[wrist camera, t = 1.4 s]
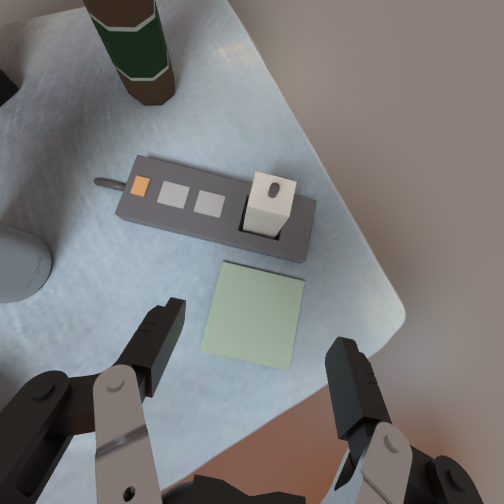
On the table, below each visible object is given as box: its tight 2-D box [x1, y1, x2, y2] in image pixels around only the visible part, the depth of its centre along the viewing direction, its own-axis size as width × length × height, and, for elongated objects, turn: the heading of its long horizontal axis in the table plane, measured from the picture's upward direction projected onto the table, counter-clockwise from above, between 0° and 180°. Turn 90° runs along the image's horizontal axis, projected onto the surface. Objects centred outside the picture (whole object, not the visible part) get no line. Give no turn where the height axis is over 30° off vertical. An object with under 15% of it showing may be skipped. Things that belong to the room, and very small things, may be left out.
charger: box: [242, 171, 296, 239], centre depth 29 cm, size 5×4×12 cm
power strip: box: [93, 155, 316, 263], centre depth 33 cm, size 32×9×3 cm, turn 77°
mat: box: [199, 262, 305, 371], centre depth 31 cm, size 12×12×1 cm
